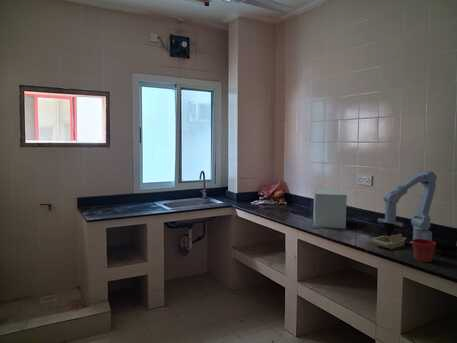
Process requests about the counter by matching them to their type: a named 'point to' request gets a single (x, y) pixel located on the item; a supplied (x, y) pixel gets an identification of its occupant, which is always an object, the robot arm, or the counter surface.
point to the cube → (329, 208)
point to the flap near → (396, 238)
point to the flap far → (377, 237)
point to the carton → (388, 242)
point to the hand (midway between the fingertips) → (389, 236)
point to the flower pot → (423, 249)
